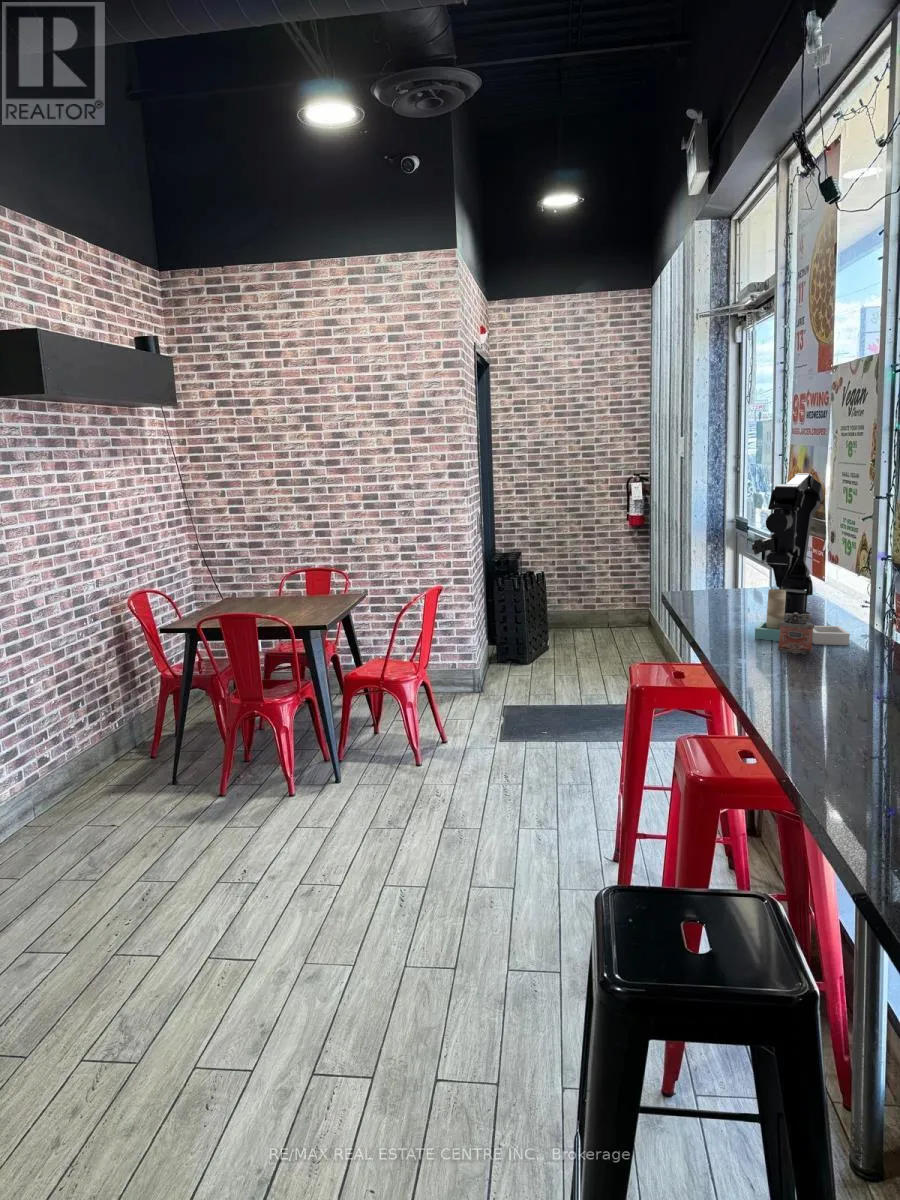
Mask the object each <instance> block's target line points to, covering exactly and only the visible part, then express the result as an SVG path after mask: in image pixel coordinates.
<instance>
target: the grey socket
mask: <svg viewBox="0 0 900 1200" xmlns="http://www.w3.org/2000/svg"><path fill="white" fill-rule="evenodd" d="M850 636H851V633H850V632H848V631H847V630H845V629H844V628H843V627H841V626H840V625H814V628H813V635H812V645H828V646H829V645H833V646H834V645H835V646H839V645H840V646H849V645H850Z"/></svg>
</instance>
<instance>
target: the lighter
mask: <svg viewBox="0 0 900 1200" xmlns="http://www.w3.org/2000/svg"><path fill="white" fill-rule="evenodd" d="M812 618H813V617H812V615H811V614H801V615H800V614H798V613H796V612H795V613H793V614H788V613H786V614H785V615H784V621H780V636H779V642H778V646H777V651H778V650H779V651H778V652H781V651H785V652H784V653H788V652H792V653H791V654H797V653H802V654H801V655H811V653H812V654H813V649H812V646H813V643H812V635H813V628H814V626H815V624H814V623H811V622H807V621H812ZM804 653H805V654H804ZM809 653H810V654H809Z"/></svg>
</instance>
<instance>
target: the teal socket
mask: <svg viewBox="0 0 900 1200" xmlns="http://www.w3.org/2000/svg"><path fill="white" fill-rule="evenodd" d="M766 622H767V621H766ZM766 622H765V621H761V622H760V623H759V624H758V625H757V626H755V628H754V640H758V639H765V640H764V641H767V640H773V641H772V642H776V641H779V636H780V630H775V629H766Z"/></svg>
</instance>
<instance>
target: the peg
mask: <svg viewBox="0 0 900 1200" xmlns="http://www.w3.org/2000/svg"><path fill="white" fill-rule="evenodd" d="M767 592H768V593H767V609H766V629H775V630H780V621H785V600H786V590H782V589H779V588H769V589H768V591H767Z"/></svg>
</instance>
